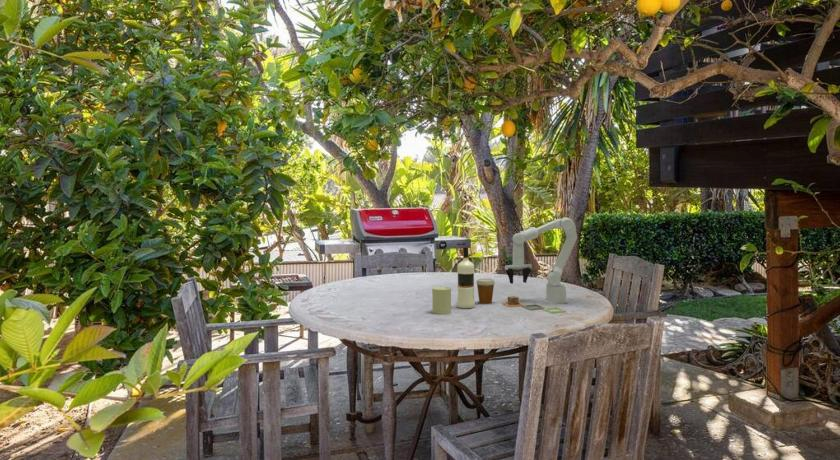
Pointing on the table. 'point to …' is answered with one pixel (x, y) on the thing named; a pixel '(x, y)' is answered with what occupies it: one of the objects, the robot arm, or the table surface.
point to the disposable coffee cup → (485, 290)
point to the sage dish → (554, 310)
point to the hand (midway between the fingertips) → (518, 282)
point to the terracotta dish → (512, 305)
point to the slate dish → (533, 307)
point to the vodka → (465, 282)
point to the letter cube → (513, 300)
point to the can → (441, 300)
